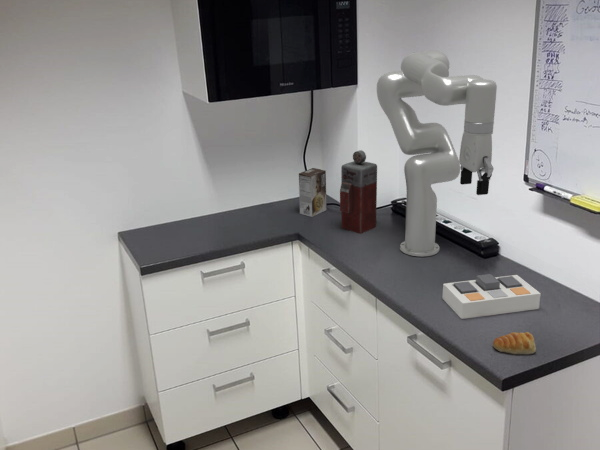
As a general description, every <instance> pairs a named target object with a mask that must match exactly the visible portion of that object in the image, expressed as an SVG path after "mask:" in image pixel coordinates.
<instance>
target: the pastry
mask: <svg viewBox="0 0 600 450" xmlns="http://www.w3.org/2000/svg"><path fill="white" fill-rule="evenodd" d="M492 347H493V348H494V349H495V350H497V351H499V352H500V353H507V354H511V355H531V354H535V352H537V347H536V342H535V338H534V336H533V334H532V333H530V332H528V331H526V332H515V331H513V332H510V333H508V334H505V335H501V336H498V337H496V338H494V340H493V343H492Z"/></svg>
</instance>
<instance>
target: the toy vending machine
mask: <svg viewBox="0 0 600 450" xmlns="http://www.w3.org/2000/svg"><path fill="white" fill-rule="evenodd" d="M352 160H353V161H351V162H346V163H344V164H342V165H341V170H340V171H341V172H340V174H341V177H340V178H341V184H340V188H339V211H340V212H341V219H340V220H341V221H340V222H341V227H340V228H341V229H342V230H346V231H350V232H353V233H356V234H360V235H361V234H364V233H366V232H368V231H371V230H373V229H375V228H377V204H378V203H377V195H378V165H377V164H376V163H374V162H369V161H366V160H367V155H366V152H364V151H363V150H362V149H361V150H360V149H359V150H357V151H354V153H353V154H352Z"/></svg>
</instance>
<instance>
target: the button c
mask: <svg viewBox="0 0 600 450" xmlns="http://www.w3.org/2000/svg"><path fill="white" fill-rule="evenodd" d="M508 276H509V277H503V276H499V277H500V278H498V281H500V283H501V284H502V285H503V286H504V287H506V288H514V287H522V284H521V283H520V282H519V281H517V280H516V279H515V278H514V277H512V276H511V275H508Z"/></svg>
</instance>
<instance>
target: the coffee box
mask: <svg viewBox="0 0 600 450" xmlns="http://www.w3.org/2000/svg"><path fill="white" fill-rule="evenodd" d="M326 171H327V170H323V169H319V168H316V167H312V168H310V169H307V170H304V171H302V172H299V173H298V190H299V192H298V193H299V198H298V199H299V214H300V215H303V216H307V217H311V218H312V217H315V216H317V215H320V214H322V213H324V212H325V211H327V175H326V174H327V172H326Z"/></svg>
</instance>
